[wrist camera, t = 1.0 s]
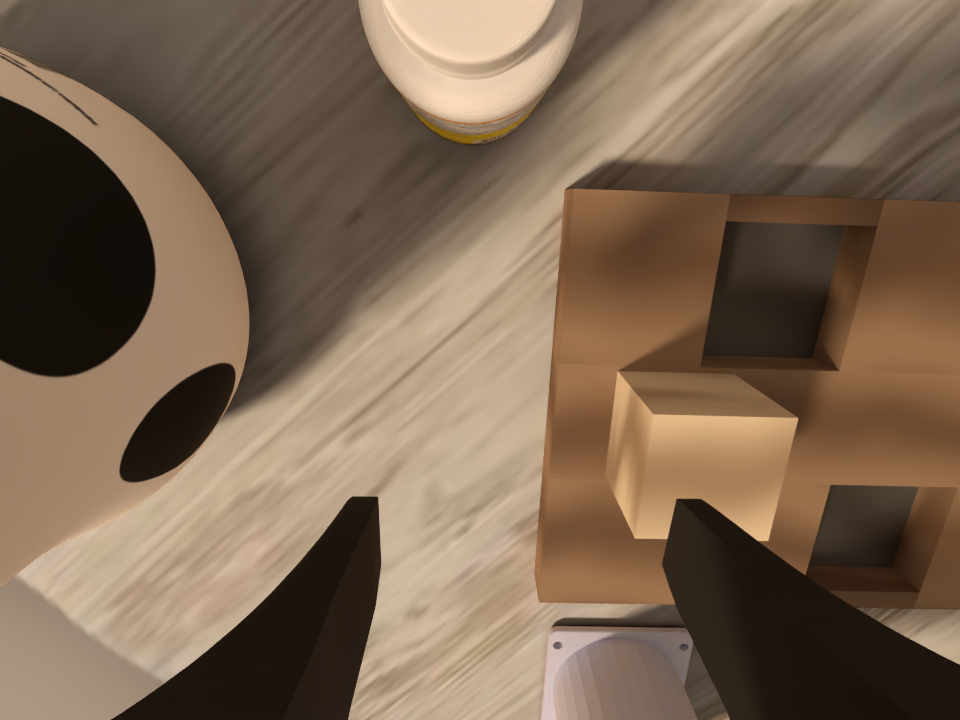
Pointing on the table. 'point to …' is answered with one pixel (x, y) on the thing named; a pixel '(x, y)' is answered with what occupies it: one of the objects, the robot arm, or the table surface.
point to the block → (696, 449)
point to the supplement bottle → (471, 59)
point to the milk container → (102, 312)
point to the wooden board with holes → (766, 380)
